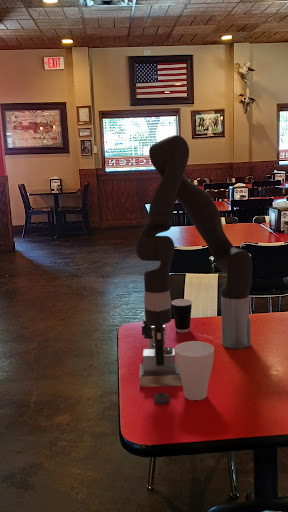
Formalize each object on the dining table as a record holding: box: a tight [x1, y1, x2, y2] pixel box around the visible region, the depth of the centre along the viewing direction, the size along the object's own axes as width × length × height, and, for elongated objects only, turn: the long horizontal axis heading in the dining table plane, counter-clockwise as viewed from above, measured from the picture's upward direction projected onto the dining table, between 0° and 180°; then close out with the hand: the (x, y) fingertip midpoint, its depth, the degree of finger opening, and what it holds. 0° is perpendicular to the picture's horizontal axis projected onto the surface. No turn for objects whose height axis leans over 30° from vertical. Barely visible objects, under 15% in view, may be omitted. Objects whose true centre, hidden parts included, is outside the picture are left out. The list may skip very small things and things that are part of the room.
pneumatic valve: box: [141, 316, 165, 349], centre depth 165 cm, size 6×12×12 cm, turn 163°
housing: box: [142, 346, 176, 372], centre depth 141 cm, size 9×5×6 cm, turn 88°
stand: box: [138, 361, 183, 388], centre depth 142 cm, size 12×9×3 cm
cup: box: [174, 340, 215, 401], centre depth 130 cm, size 10×10×14 cm
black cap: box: [153, 392, 170, 406], centre depth 129 cm, size 4×4×2 cm
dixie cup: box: [171, 298, 193, 333], centre depth 181 cm, size 8×8×11 cm
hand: (159, 359), depth 141 cm, fingers open, 8 cm apart
